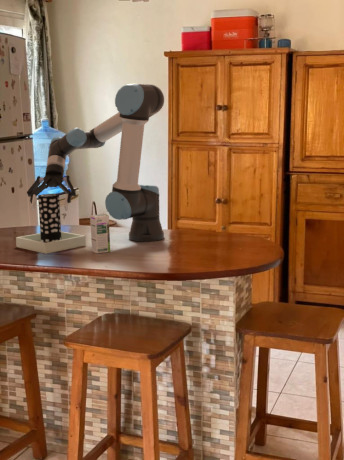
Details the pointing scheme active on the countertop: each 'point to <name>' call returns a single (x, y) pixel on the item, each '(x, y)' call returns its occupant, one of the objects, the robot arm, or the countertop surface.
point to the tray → (36, 245)
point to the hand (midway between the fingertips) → (49, 208)
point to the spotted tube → (49, 217)
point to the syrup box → (100, 233)
